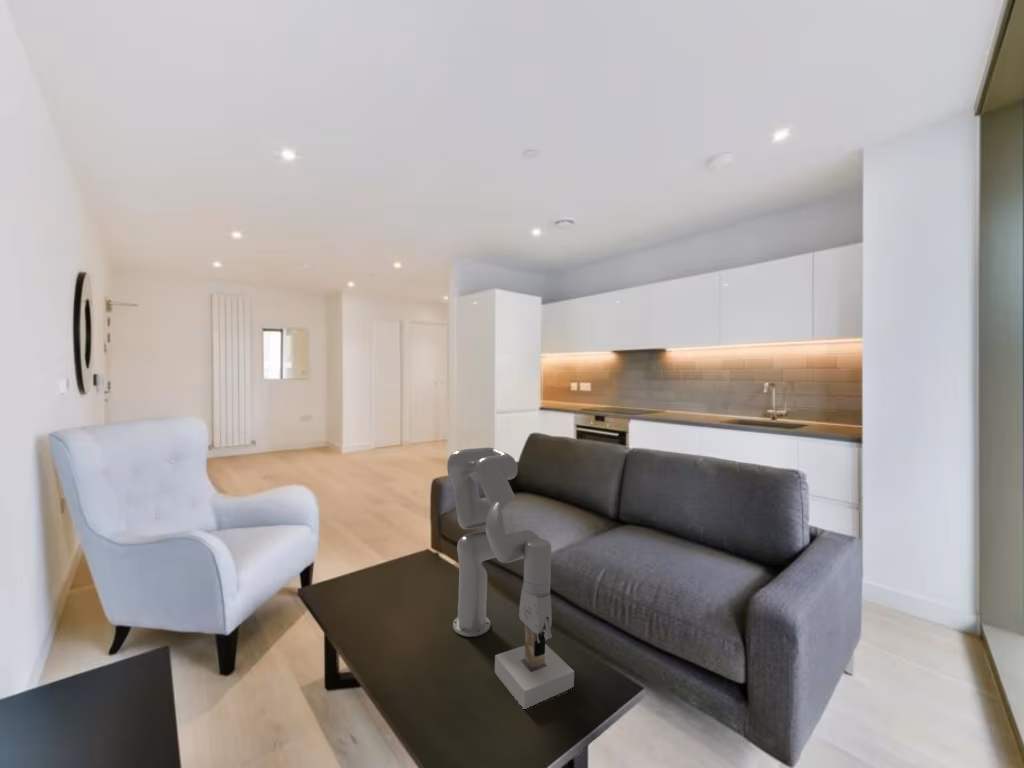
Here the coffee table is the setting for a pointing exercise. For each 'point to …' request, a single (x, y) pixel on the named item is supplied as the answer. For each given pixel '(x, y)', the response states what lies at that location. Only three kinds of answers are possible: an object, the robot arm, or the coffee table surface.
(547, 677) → the socket block
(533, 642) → the maple peg
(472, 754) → the coffee table surface
